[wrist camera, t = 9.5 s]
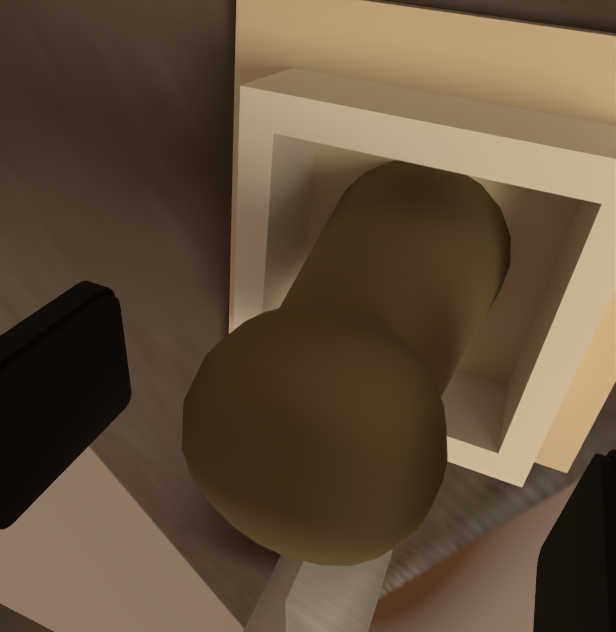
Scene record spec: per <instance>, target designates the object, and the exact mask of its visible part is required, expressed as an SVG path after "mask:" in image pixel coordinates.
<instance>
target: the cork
mask: <svg viewBox="0 0 616 632" xmlns="http://www.w3.org/2000/svg"><path fill="white" fill-rule="evenodd" d="M510 249H511V236H510V233H509V230H508V228H507V225H506V222H505V219H504V216H503V213H502V210H501V208H500V207H499V206H498V204H497V203H496V202H495V201H494V199H493V198H492V197H491V196H490V194H489V193H488V192H487V191H486V189H485V188H484V187H483V186H482V184H480V183H479V182H477V181H476V180H474V179H472V178H471V177H469V176H468V175H465V174H460V173H456V172H451V171H446V170H442V169H437V168H432V167H428V166H423V165H419V164H414V163H409V162H405V161H400V160H396V161H391V162H389V163H386V164H384V165H381V166H379V167H376V168H374V169H371V170H369V171H366V172H365V173H364V174H363V175H362V176H360V177H359V178H358V179H357V180H356V181H355V182H354V183H352V184H351V185H350V186H349V187H348V188H347V189H346V190H345V191H344V193H343V195H342V197H341V198H340V200H339V202H338V204H337V205H336V207H335V209H334V211H333V212H332V214H331V216H330V218H329V220H328V221H327V223H326V225H325V227H324V229H323V230H322V232H321V234H320V236H319V238H318V239H317V241H316V243H315V245H314V247H313V248H312V250H311V252H310V254H309V255H308V257H307V259H306V261H305V263H304V264H303V266H302V268H301V270H300V272H299V273H298V275H297V277H296V279H295V281H294V282H293V284H292V286H291V288H290V290H289V291H288V293H287V295H286V297H285V299H284V300H283V302H282V304H281V306H280V307H279V308H278V309H274V310H271V311H267V312H263V313H261V314H259V315H257V316H255V317H253V318H251V319H249V320H247V321H245V322H243V323H242V324H241V325H240V326H238V327H237V328H236V329H235V330H233V331H232V332H231V333H230V334H228V335H227V336H226V337H224V338H223V339H222V340H221V341H220V342H219V343H218V344H217V345H216V346H215V347H214V348H213V349H212V350H211V351H210V352H209V353H208V354H207V355H206V356H205V358H204V360H203V362H202V364H201V366H200V368H199V370H198V372H197V374H196V376H195V378H194V380H193V382H192V385H191V387H190V389H189V391H188V393H187V395H186V397H185V399H184V405H183V432H182V450H183V453H184V456H185V459H186V462H187V465H188V468H189V471H190V474H191V476H192V477H193V479H194V481H195V482H196V484H197V485H198V487H199V488H200V490H201V491H202V493H203V494H204V496H205V497H206V499H207V500H208V502H209V503H210V504H211V505H212V506H213V507H214V508H215V509H216V510H217V511H218V512H219V513H220V514H221V515H222V516H223V517H224V518H225V519H226V520H227V521H228V522H229V523H230V524H231V525H232V526H233V527H234V528H236V529H237V530H239V531H240V532H241V533H243V534H244V535H246V536H247V537H249V538H250V539H252V540H253V541H254V542H256V543H257V544H259V545H261V546H264V547H266V548H268V549H270V550H272V551H274V552H277V553H279V554H281V555H283V556H286V557H289V558H293V559H297V560H301V561H305V562H309V563H313V564H317V565H323V566H353V565H357V564H360V563H364V562H367V561H371V560H374V559H378V558H379V557H381V556H383V555H384V554H386V553H387V552H389V551H390V550H392V549H393V548H395V547H396V546H398V545H399V544H400V543H401V542H403V541H404V540H405V539H406V538H407V537H409V536H410V535H411V534H412V533H414V532H415V531H416V530H417V529H418V528H419V527H420V525H421V523H422V522H423V520H424V519H425V517H426V516H427V514H428V513H429V511H430V509H431V507H432V505H433V503H434V500H435V498H436V496H437V493H438V491H439V489H440V486H441V484H442V482H443V478H444V473H445V469H446V464H447V460H448V453H447V429H446V418H445V410H444V404H443V401H442V399H441V397H442V396H443V394H444V392H445V390H446V388H447V386H448V385H449V383H450V381H451V379H452V377H453V375H454V374H455V372H456V370H457V368H458V366H459V365H460V363H461V361H462V359H463V357H464V355H465V354H466V352H467V350H468V348H469V346H470V344H471V343H472V341H473V339H474V337H475V335H476V334H477V332H478V330H479V328H480V326H481V324H482V323H483V321H484V319H485V317H486V315H487V313H488V312H489V310H490V308H491V306H492V304H493V303H494V301H495V299H496V297H497V295H498V293H499V292H500V289H501V287H502V284H503V282H504V279H505V277H506V274H507V272H508V269H509V267H510Z"/></svg>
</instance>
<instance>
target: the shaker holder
mask: <svg viewBox="0 0 616 632" xmlns="http://www.w3.org/2000/svg"><path fill="white" fill-rule="evenodd" d="M396 160H400V161H405V162H409V163H414V164H419V165H423V166H428V167H432V168H437V169H442V170H446V171H451V172H456V173H460V174H465V175H468V176H469V177H471V178H472V179H474V180H476V181H477V182H479V183H480V184H482V186H483V187H484V188H485V189H486V191H487V192H488V193H489V194H490V196H491V197H492V198H493V199H494V201H495V202H496V203H497V204H498V206H499V207H500V208H501V210H502V213H503V216H504V219H505V222H506V225H507V228H508V230H509V233H510V236H511V249H510V267H509V269H508V272H507V274H506V277H505V279H504V282H503V284H502V287H501V289H500V292H499V293H498V295H497V297H496V299H495V301H494V303H493V304H492V306H491V308H490V310H489V312H488V313H487V315H486V317H485V319H484V321H483V323H482V324H481V326H480V328H479V330H478V332H477V334H476V335H475V337H474V339H473V341H472V343H471V344H470V346H469V348H468V350H467V352H466V354H465V355H464V357H463V359H462V361H461V363H460V365H459V366H458V368H457V370H456V372H455V374H454V375H453V377H452V379H451V381H450V383H449V385H448V386H447V388H446V390H445V392H444V394H443V396H442V397H441V399H442V401H443V404H444V410H445V418H446V429H447V453H448V460H447V461H448V462H451V463H454V464H457V465H460V466H463V467H465V468H468V469H471V470H474V471H477V472H480V473H482V474H485V475H488V476H491V477H494V478H497V479H499V480H502V481H505V482H508V483H511V484H514V485H516V486H519V487H522V486H523V484H524V482H525V480H526V478H527V476H528V474H529V471H530V469H531V467H532V465H533V463H534V462H535V463H538V464H541V465H544V466H547V467H550V468H553V469H556V470H559V471H562V472H565V473H567V472H568V470H569V469H570V467H571V465H572V463H573V461H574V459H575V457H576V455H577V453H578V452H579V450H580V448H581V446H582V444H583V442H584V440H585V438H586V436H587V435H588V433H589V431H590V429H591V427H592V425H593V423H594V421H595V419H596V417H597V416H598V414H599V412H600V410H601V408H602V406H603V404H604V402H605V400H606V399H607V397H608V395H609V393H610V391H611V389H612V387H613V385H614V383H615V382H616V33H610V32H603V31H596V30H589V29H582V28H575V27H568V26H561V25H553V24H546V23H539V22H532V21H525V20H518V19H511V18H504V17H496V16H489V15H482V14H475V13H468V12H461V11H454V10H447V9H440V8H432V7H425V6H418V5H411V4H404V3H397V2H390V1H383V0H236V44H235V87H234V131H233V174H232V218H231V261H230V305H229V334H230V333H231V332H232V331H233V330H235V329H236V328H237V327H238V326H240V325H241V324H242V323H243V322H245V321H247V320H249V319H251V318H253V317H255V316H257V315H259V314H261V313H263V312H267V311H271V310H274V309H278V308H279V307H280V306H281V304H282V302H283V300H284V299H285V297H286V295H287V293H288V291H289V290H290V288H291V286H292V284H293V282H294V281H295V279H296V277H297V275H298V273H299V272H300V270H301V268H302V266H303V264H304V263H305V261H306V259H307V257H308V255H309V254H310V252H311V250H312V248H313V247H314V245H315V243H316V241H317V239H318V238H319V236H320V234H321V232H322V230H323V229H324V227H325V225H326V223H327V221H328V220H329V218H330V216H331V214H332V212H333V211H334V209H335V207H336V205H337V204H338V202H339V200H340V198H341V197H342V195H343V193H344V191H345V190H346V189H347V188H348V187H349V186H350V185H351V184H352V183H354V182H355V181H356V180H357V179H358V178H359V177H360V176H362V175H363V174H364V173H365V172H366V171H369V170H371V169H374V168H376V167H379V166H381V165H384V164H386V163H389V162H391V161H396Z"/></svg>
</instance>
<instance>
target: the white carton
mask: <svg viewBox="0 0 616 632" xmlns="http://www.w3.org/2000/svg"><path fill="white" fill-rule="evenodd" d="M392 551H393V549H392V550H390V551H389V552H387V553H386V554H384V555H383V556H381V557H379V558H378V559H374V560H371V561H367V562H364V563H360V564H357V565H353V566H323V565H317V564H313V563H309V562H305V561H301V560H297V559H293V558H289V557H286V556H283V555H281V556H280V558H279V560H278V562H277V564H276V566H275V568H274V570H273V572H272V574H271V576H270V578H269V580H268V582H267V584H266V586H265V588H264V590H263V592H262V594H261V596H260V598H259V600H258V602H257V604H256V607H255V609H254V611H253V613H252V615H251V617H250V619H249V621H248V623H247V625H246V627H245V629H244V631H243V632H368V630H369V626H370V623H371V620H372V617H373V614H374V610H375V606H376V604H377V600H378V597H379V594H380V590H381V587H382V584H383V581H384V577H385V574H386V571H387V567H388V564H389V561H390V557H391V554H392Z"/></svg>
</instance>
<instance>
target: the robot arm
mask: <svg viewBox="0 0 616 632" xmlns="http://www.w3.org/2000/svg"><path fill="white" fill-rule="evenodd" d="M130 398H131V385H130V377H129V369H128V362H127V354H126V346H125V339H124V331H123V324H122V316H121V308H120V303H119V300H118V299H117V298H116V297H115V294H114V292H113V291H112V289H110V288H108V287H105V286H101V285H98V284H95V283H92V282H89V281H82V282H80V283H78V284H76V285H75V286H73V287H72V288H70V289H69V290H67V291H66V292H65V293H63V294H62V295H60V296H59V297H57V298H56V299H54V300H53V301H51V302H50V303H48V304H47V305H45V306H44V307H42V308H41V309H39V310H38V311H36V312H35V313H33V314H32V315H30V316H29V317H27V318H26V319H24V320H23V321H22V322H20V323H19V324H17V325H16V326H14V327H13V328H11V329H10V330H8V331H7V332H5V333H4V334H2V335H1V336H0V529H6V528H7V527H9V526H10V525H12V524H13V523H14V522H15V521H16V520H17V519H18V518H19V517H20V516H21V515H22V514H23V513H24V512H25V510H27V509H28V508H29V507H30V505H31V504H32V503H33V502H34V501H35V500H36V499H37V498H38V497H39V496H40V495H41V494H42V493H43V492H44V491H45V490H46V489H47V488H48V487H49V486H50V485H51V484H52V483H53V482H54V481H55V480H56V478H58V477H59V476H60V475H61V474H62V473H63V472H64V470H66V468H67V467H69V466H70V464H71V463H72V462H73V461H74V460H75V459H76V458H77V457H78V456H79V455H80V454H81V453H82V452H83V451H84V450H85V449H86V448H87V447H88V446H89V445H90V444H91V443H92V442H93V441H94V440H95V439H96V438H97V437H98V436H99V435H100V434H101V433H102V432H103V431H104V430H105V429H106V428H107V427H108V426H109V424H110V423H111V422H112V421H113V420H114V419H115V418H116V417H117V416H118V415H119V414H120V413H121V412H122V411H123V410H124V409H125V408H126V407H127V405H128V403H129V401H130ZM0 632H53V631H52V630H50V629H48V628H46V627H44V626H42V625H40V624H38V623H36V622H35V621H33V620H31V619H29V618H27V617H25V616H23V615H21V614H19V613H17V612H15V611H13V610H11V609H9V608H8V607H5V606H4V605H2V604H0ZM533 632H616V450H611V451H610V452H609V453H608V454H607V455H606V456H604V455H601V454H595V455H594V457H593V458H592V460H591V461H590V463H589V465H588V467H587V468H586V470H585V472H584V474H583V475H582V477H581V479H580V481H579V482H578V484H577V486H576V488H575V489H574V491H573V493H572V495H571V496H570V498H569V500H568V502H567V503H566V505H565V507H564V509H563V510H562V512H561V514H560V516H559V517H558V519H557V521H556V523H555V525H554V526H553V528H552V530H551V531H550V533H549V535H548V537H547V538H546V540H545V542H544V544H543V546H542V548H541V551H540V554H539V557H538V563H537V576H536V594H535V611H534V629H533Z"/></svg>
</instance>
